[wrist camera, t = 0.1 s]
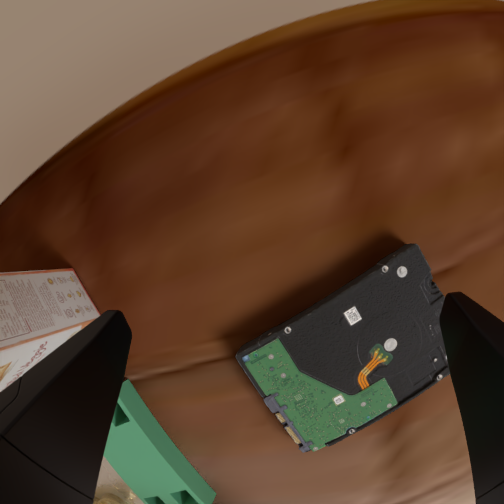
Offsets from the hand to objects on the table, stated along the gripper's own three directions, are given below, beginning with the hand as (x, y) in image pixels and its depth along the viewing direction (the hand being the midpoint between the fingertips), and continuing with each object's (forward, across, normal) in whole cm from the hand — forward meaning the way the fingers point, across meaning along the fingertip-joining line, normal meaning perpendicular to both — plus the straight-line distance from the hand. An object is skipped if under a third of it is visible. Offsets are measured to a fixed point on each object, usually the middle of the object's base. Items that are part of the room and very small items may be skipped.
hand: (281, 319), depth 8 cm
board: (+4, +14, +22) cm, 26 cm away
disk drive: (+10, -5, +13) cm, 17 cm away
